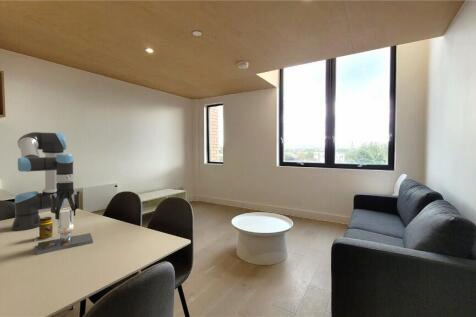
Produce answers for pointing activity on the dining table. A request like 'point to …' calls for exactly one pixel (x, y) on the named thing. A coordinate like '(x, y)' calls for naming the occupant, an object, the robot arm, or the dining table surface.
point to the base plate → (60, 245)
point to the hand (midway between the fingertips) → (65, 223)
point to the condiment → (45, 229)
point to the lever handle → (65, 221)
